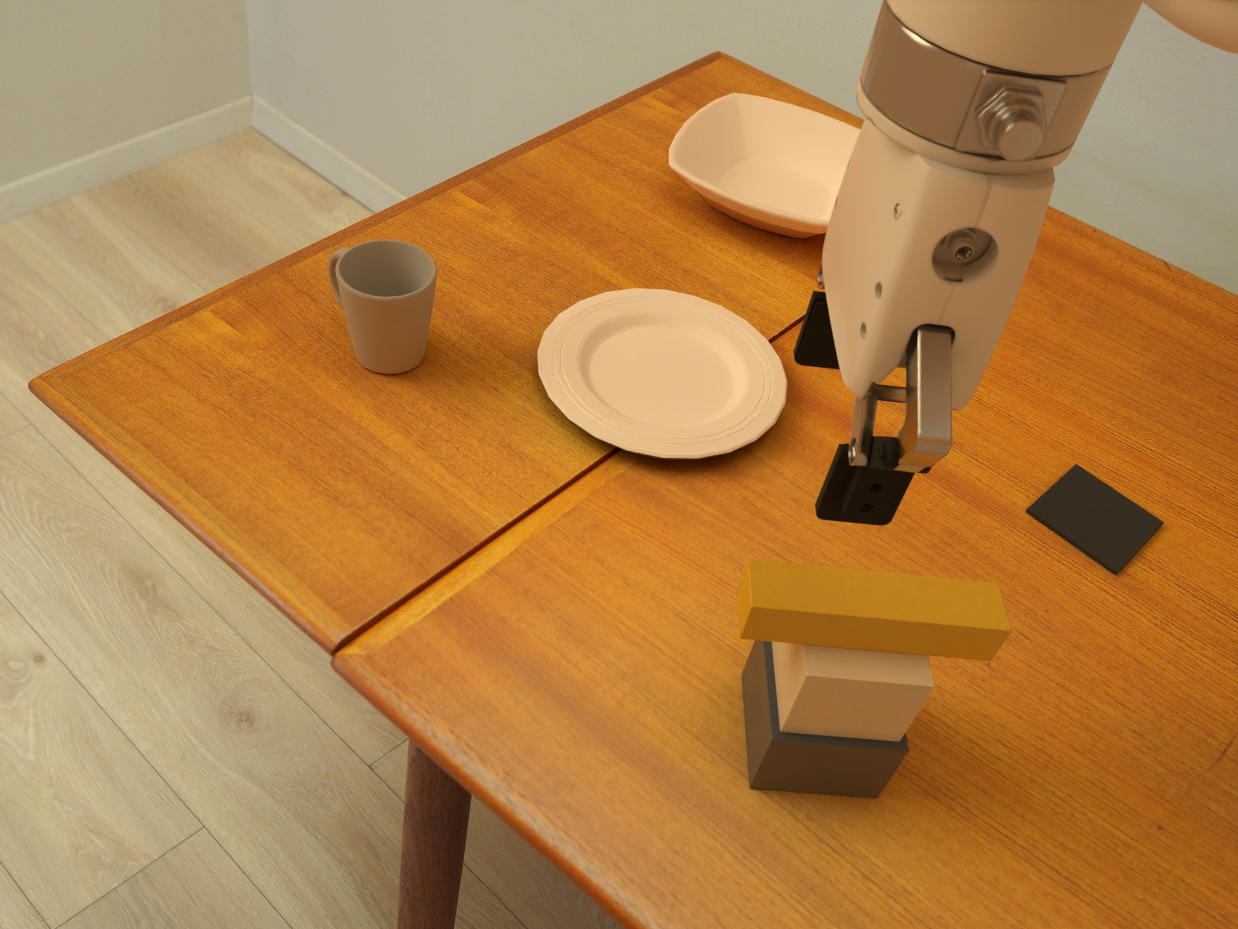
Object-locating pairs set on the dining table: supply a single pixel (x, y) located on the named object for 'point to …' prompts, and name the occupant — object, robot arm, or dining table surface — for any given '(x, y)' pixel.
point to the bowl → (765, 162)
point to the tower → (829, 716)
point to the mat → (1095, 518)
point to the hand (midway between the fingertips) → (836, 435)
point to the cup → (385, 301)
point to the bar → (871, 610)
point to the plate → (662, 374)
